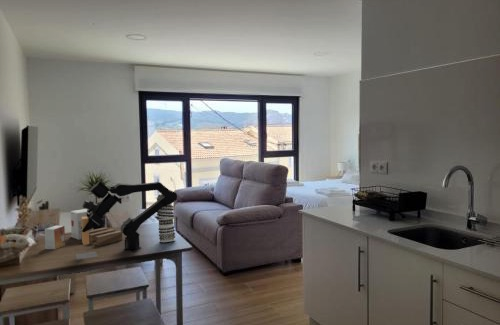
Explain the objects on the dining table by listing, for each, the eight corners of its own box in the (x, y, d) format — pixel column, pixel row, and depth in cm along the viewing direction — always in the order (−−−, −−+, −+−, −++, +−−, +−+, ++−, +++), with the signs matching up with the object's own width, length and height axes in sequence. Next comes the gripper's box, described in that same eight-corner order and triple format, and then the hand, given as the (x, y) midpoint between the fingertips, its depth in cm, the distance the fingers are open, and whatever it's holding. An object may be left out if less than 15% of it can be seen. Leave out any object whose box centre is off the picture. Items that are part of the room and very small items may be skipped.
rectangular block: (87, 240, 181) (87, 216, 180) (89, 244, 175) (88, 218, 174) (82, 241, 179) (81, 216, 178) (83, 244, 174) (82, 219, 173)
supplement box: (71, 237, 212) (69, 210, 211) (86, 233, 218) (85, 208, 217) (77, 240, 206) (76, 213, 204) (93, 236, 212) (92, 210, 211)
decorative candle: (155, 242, 198) (151, 195, 198) (163, 239, 207) (160, 194, 207) (171, 241, 196) (167, 194, 196) (178, 238, 205) (175, 192, 205)
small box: (54, 250, 188) (53, 229, 187) (45, 249, 189) (44, 228, 188) (65, 245, 196) (64, 225, 195) (56, 244, 197) (55, 225, 196)
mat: (95, 252, 184) (95, 251, 184) (97, 257, 176) (97, 256, 176) (75, 255, 180) (75, 254, 180) (76, 260, 172) (76, 259, 172)
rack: (122, 240, 204) (122, 231, 204) (99, 246, 193) (98, 237, 192) (105, 235, 213) (104, 227, 213) (81, 241, 202) (81, 232, 202)
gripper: (90, 191, 186) (67, 215, 181) (95, 196, 169) (69, 223, 165) (108, 205, 190) (85, 229, 186) (114, 212, 174) (89, 239, 169)
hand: (82, 230), depth 176 cm, fingers closed on rectangular block, 6 cm apart
